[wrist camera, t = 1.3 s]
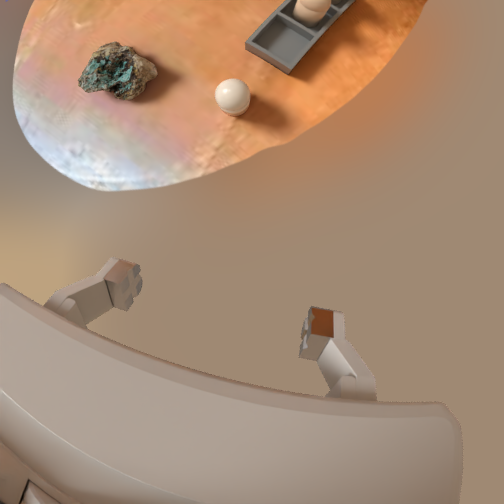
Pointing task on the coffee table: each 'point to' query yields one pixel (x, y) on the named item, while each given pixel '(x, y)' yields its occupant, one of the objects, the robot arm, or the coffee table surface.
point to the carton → (294, 30)
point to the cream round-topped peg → (233, 97)
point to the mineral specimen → (117, 71)
